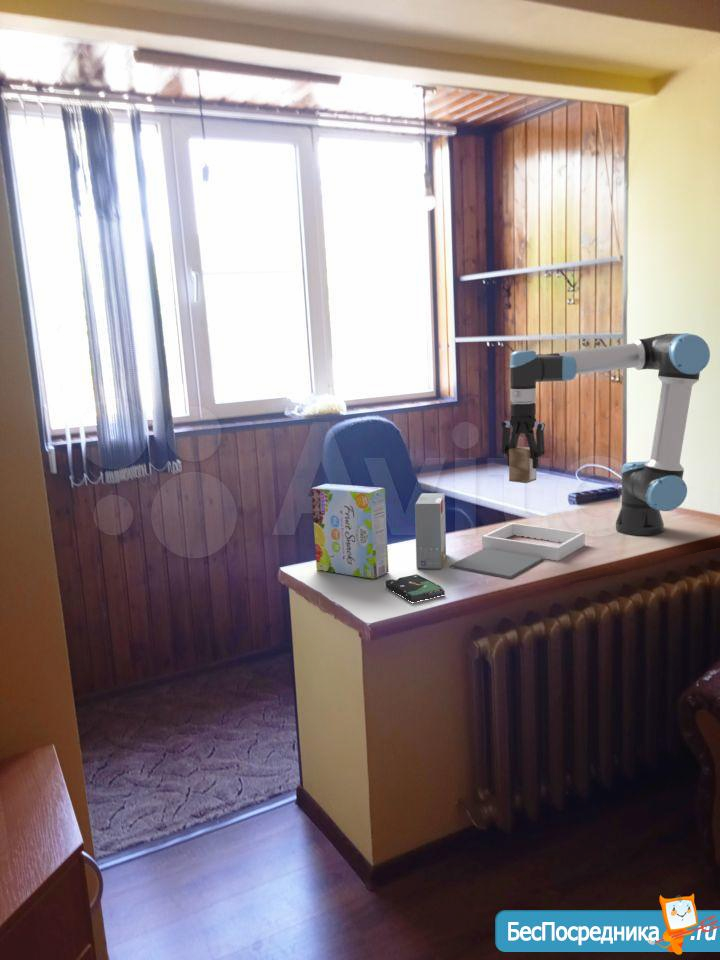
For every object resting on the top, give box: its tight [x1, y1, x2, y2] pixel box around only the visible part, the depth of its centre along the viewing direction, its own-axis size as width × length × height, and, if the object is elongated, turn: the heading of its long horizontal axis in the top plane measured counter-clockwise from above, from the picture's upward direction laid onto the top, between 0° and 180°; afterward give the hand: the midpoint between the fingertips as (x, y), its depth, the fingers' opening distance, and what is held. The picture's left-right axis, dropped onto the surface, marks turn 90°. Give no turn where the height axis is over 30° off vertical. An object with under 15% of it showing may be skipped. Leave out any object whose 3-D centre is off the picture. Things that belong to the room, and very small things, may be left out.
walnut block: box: [508, 446, 537, 484], centre depth 233 cm, size 6×6×10 cm
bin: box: [481, 522, 586, 562], centre depth 242 cm, size 26×19×4 cm
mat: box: [449, 548, 544, 580], centre depth 227 cm, size 20×20×1 cm
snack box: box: [310, 483, 390, 580], centre depth 225 cm, size 22×9×26 cm, turn 56°
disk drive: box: [385, 574, 446, 603], centre depth 207 cm, size 10×3×15 cm
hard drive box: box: [414, 492, 447, 570], centre depth 231 cm, size 16×8×20 cm, turn 168°
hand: (522, 477), depth 234 cm, fingers closed on walnut block, 6 cm apart
